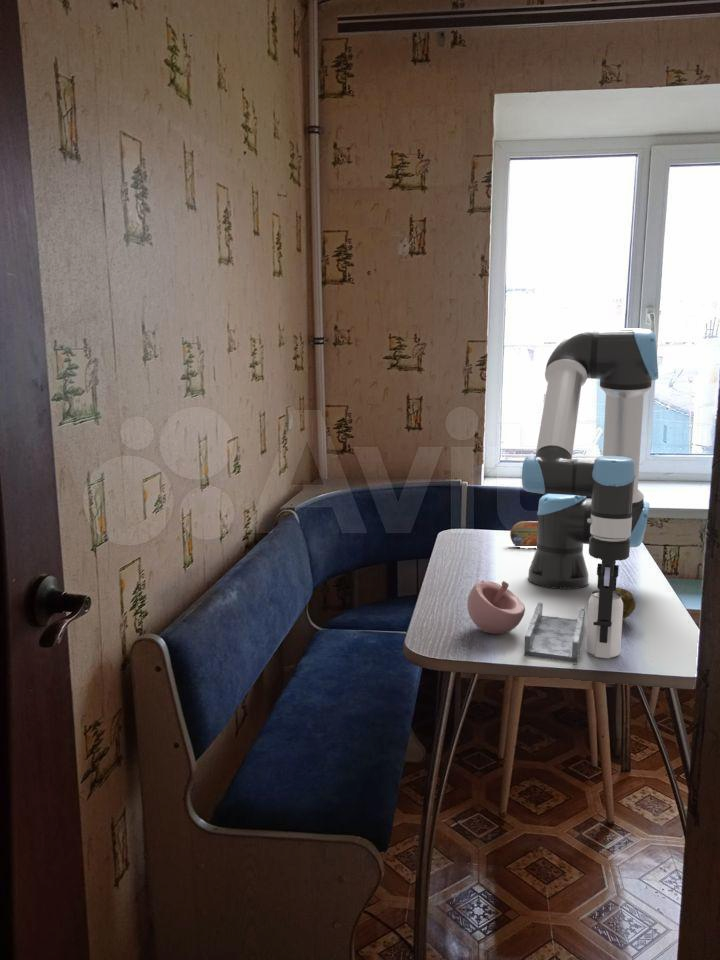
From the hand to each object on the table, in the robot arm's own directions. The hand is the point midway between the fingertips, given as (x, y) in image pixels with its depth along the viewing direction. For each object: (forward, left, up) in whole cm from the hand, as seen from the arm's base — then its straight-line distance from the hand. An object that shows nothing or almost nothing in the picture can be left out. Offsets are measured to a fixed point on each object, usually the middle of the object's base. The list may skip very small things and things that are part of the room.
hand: (603, 650), depth 151 cm
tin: (-80, -23, -1) cm, 83 cm away
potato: (-21, +1, -1) cm, 21 cm away
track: (-4, -10, 0) cm, 10 cm away
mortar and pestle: (-4, -22, -1) cm, 22 cm away
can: (0, 0, -1) cm, 1 cm away
